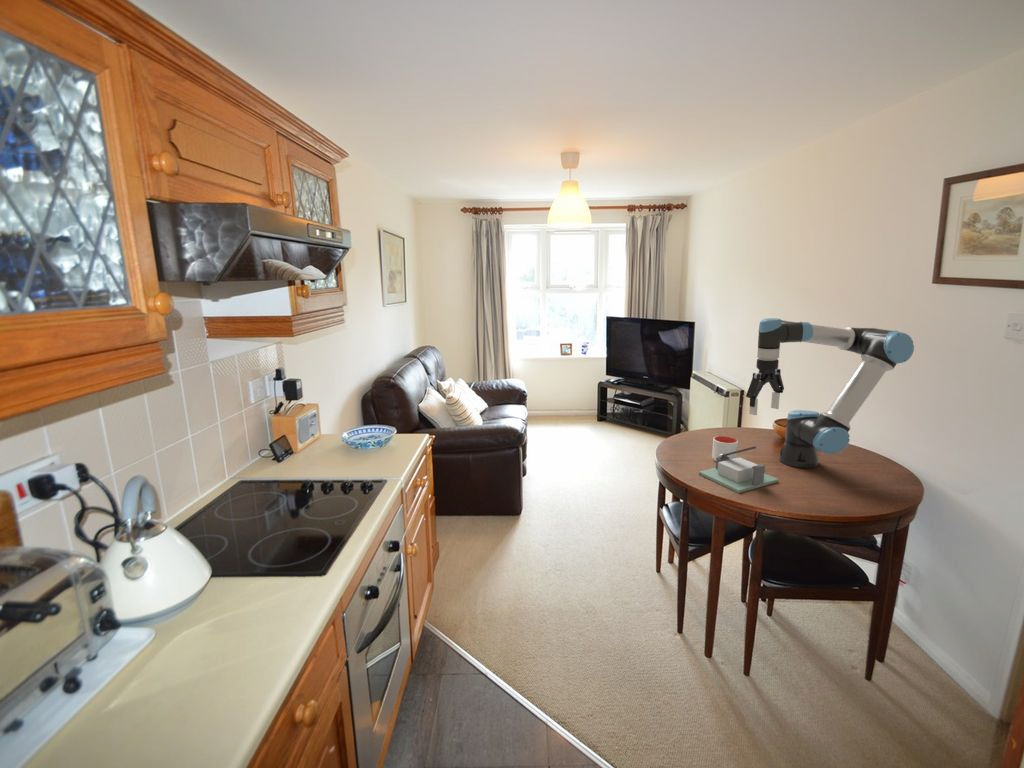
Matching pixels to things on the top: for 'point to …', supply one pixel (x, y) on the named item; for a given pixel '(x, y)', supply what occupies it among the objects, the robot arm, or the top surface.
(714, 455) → the cup
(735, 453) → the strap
